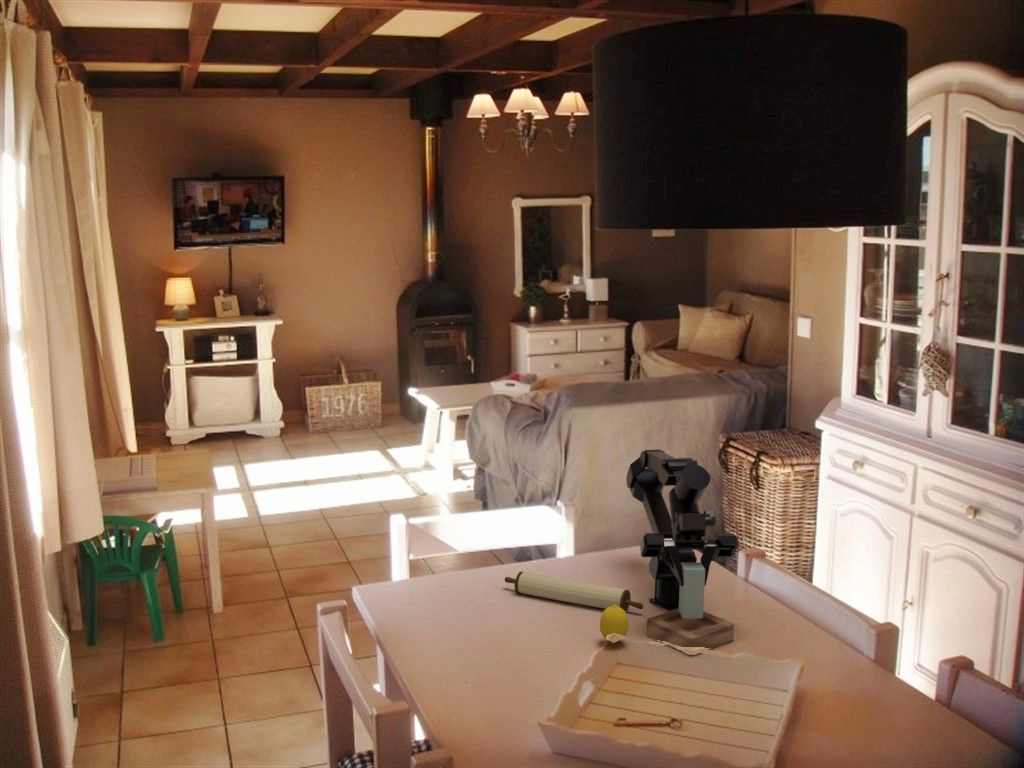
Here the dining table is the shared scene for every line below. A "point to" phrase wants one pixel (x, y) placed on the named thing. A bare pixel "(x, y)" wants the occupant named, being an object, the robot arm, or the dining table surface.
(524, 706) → the dining table surface
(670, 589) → the robot arm
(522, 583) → the rolling pin
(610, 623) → the lemon
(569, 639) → the dining table surface
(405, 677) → the dining table surface
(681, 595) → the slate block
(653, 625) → the walnut base
